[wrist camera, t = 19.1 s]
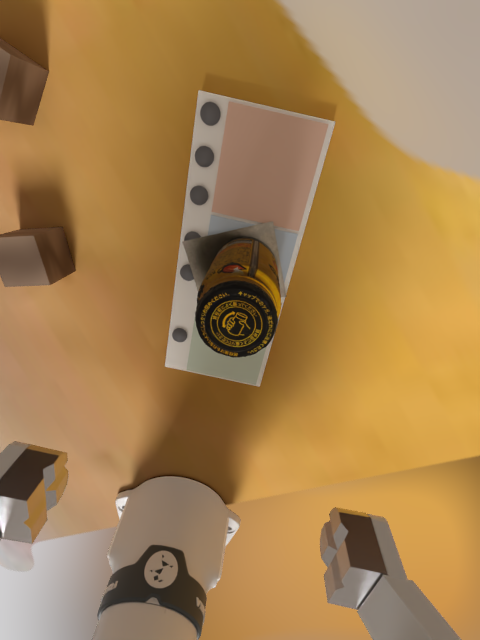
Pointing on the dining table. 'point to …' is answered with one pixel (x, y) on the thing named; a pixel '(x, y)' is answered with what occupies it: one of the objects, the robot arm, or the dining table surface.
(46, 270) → the walnut block
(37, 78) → the walnut block
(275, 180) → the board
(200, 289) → the condiment
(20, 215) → the dining table surface
